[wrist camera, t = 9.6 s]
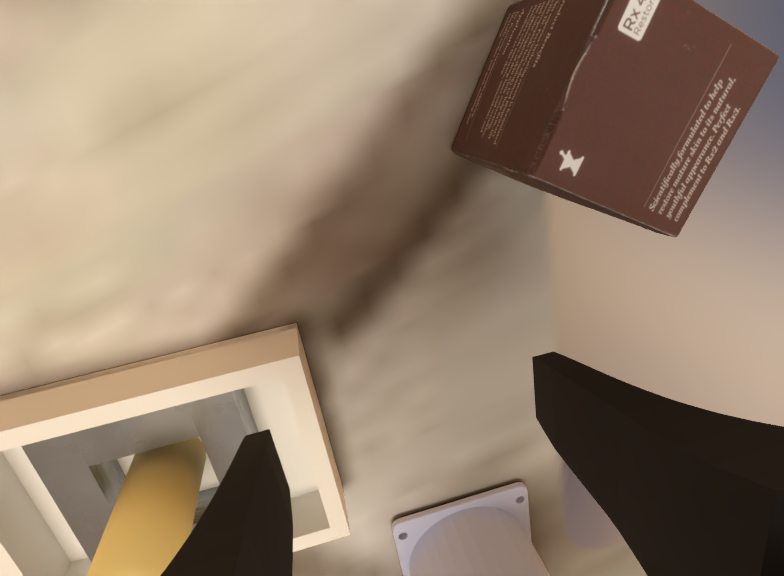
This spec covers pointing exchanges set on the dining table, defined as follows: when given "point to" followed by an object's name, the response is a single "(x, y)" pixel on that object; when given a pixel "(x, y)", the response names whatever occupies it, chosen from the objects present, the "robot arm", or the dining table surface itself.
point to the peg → (152, 511)
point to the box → (614, 103)
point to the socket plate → (128, 437)
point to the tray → (156, 392)
